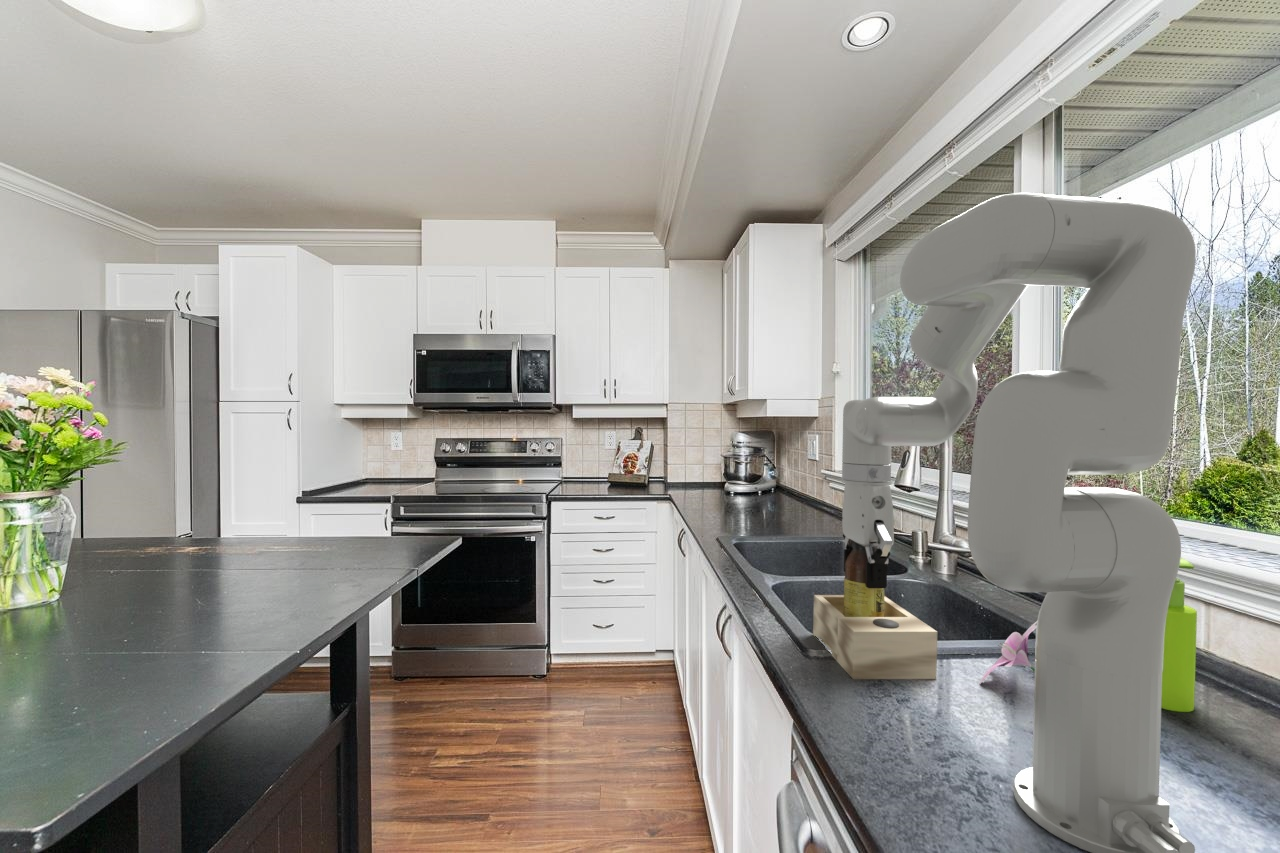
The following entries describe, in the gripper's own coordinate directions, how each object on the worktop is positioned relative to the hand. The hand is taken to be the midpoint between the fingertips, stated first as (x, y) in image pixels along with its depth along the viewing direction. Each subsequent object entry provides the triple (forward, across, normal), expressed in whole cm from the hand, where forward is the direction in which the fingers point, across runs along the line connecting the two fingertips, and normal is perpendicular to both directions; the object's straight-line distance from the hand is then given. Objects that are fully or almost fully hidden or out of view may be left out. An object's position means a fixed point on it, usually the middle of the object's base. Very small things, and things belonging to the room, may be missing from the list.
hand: (864, 579), depth 96 cm
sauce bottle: (+11, 0, 0) cm, 11 cm away
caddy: (+12, -2, 0) cm, 12 cm away
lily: (+12, -12, -17) cm, 24 cm away
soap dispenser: (+12, -18, -34) cm, 40 cm away
